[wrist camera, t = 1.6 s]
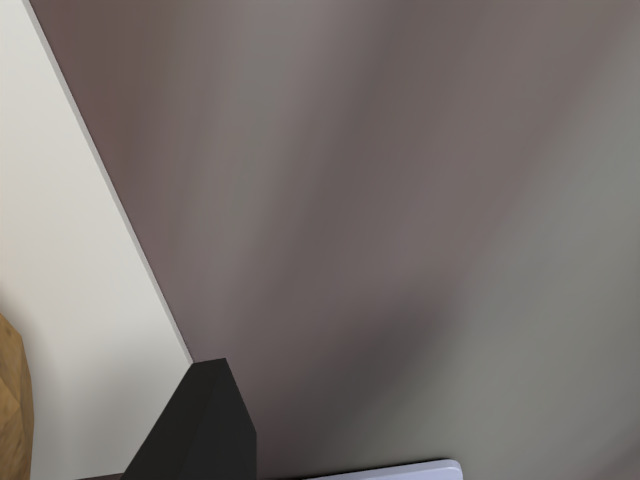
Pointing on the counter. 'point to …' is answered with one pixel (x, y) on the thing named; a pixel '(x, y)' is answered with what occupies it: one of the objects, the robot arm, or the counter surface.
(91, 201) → the t mat
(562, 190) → the counter surface
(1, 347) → the potato
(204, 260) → the counter surface
